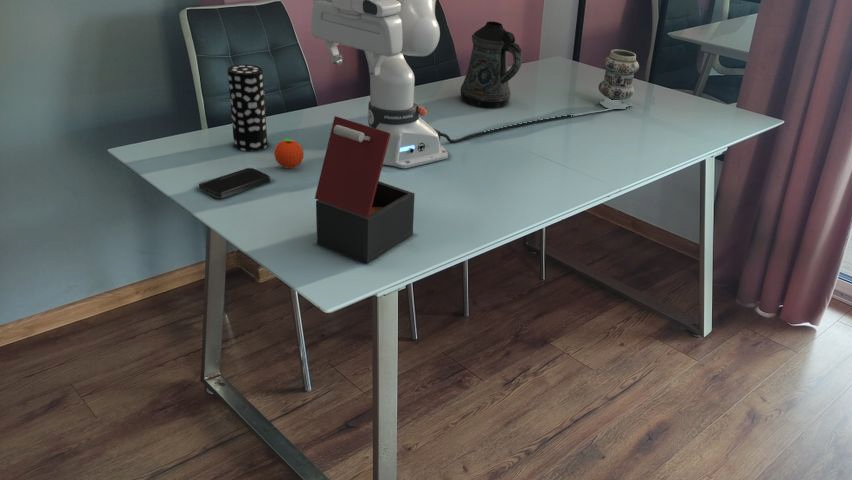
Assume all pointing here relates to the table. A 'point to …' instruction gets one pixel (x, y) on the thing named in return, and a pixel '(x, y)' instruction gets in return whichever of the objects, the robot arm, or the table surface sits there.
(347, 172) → the lid
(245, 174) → the phone
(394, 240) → the dark grey box
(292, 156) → the clementine
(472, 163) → the table surface
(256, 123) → the white-spotted black cylinder
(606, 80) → the apothecary jar
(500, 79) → the beer stein
